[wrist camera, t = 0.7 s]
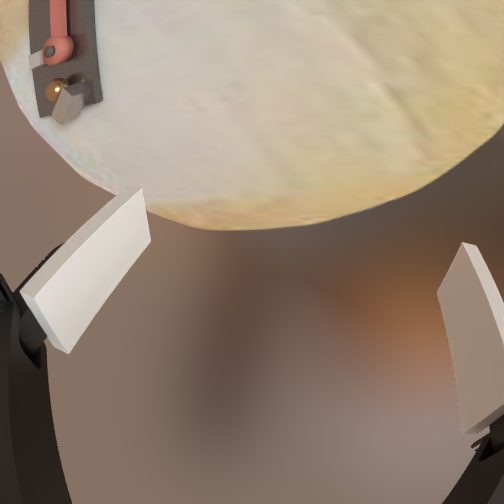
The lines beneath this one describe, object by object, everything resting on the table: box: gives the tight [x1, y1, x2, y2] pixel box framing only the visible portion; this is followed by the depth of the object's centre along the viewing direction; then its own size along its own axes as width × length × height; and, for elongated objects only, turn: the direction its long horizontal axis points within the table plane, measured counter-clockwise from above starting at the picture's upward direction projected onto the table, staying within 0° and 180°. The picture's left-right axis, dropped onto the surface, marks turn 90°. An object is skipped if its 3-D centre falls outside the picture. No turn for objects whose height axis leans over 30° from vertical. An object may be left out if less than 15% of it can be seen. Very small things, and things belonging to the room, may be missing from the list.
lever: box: [29, 0, 74, 70], centre depth 24 cm, size 16×9×7 cm, turn 2°
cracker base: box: [29, 0, 103, 124], centre depth 29 cm, size 26×14×6 cm, turn 2°
